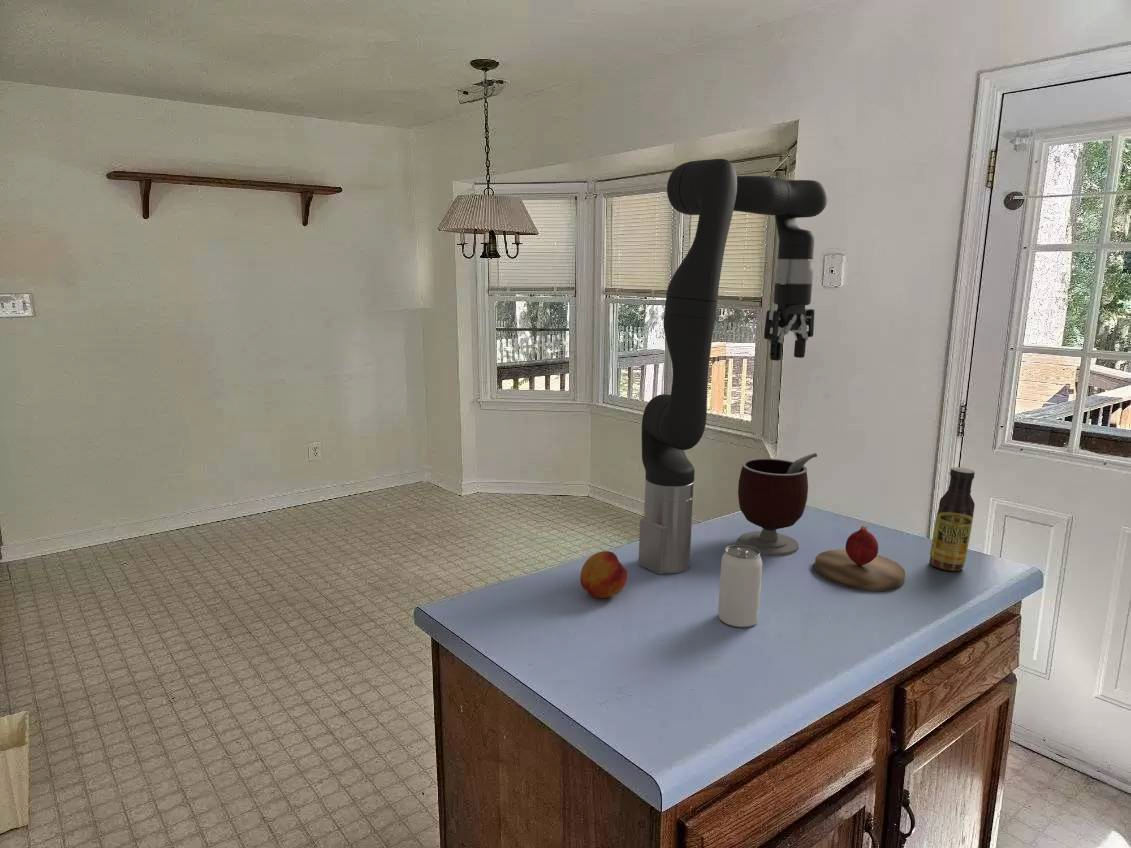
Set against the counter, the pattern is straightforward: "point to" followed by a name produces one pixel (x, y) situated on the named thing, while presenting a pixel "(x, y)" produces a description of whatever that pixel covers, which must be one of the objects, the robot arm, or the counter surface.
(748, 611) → the can
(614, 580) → the fruit
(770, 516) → the mate gourd
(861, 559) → the onion
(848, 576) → the walnut board
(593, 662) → the counter surface
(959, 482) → the sauce bottle
